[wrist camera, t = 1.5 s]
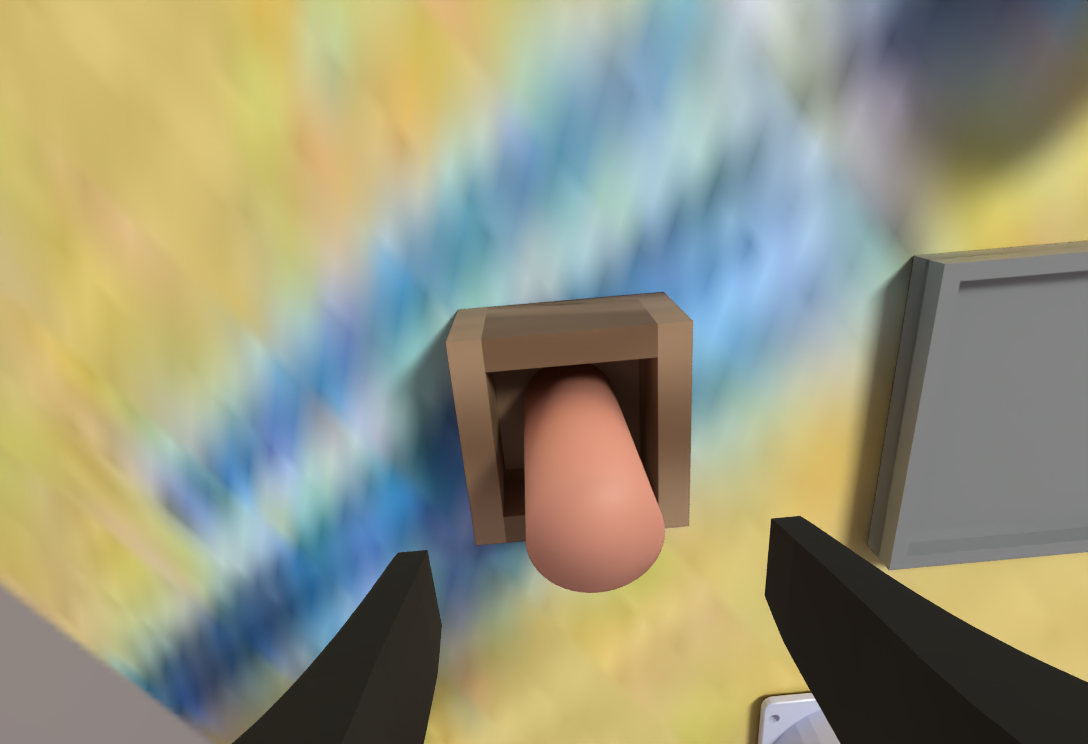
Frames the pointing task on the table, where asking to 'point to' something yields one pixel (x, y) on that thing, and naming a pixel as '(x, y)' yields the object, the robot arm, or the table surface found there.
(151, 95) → the table surface
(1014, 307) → the tray
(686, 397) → the holder
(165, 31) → the table surface
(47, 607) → the table surface
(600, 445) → the pink rounded capsule
